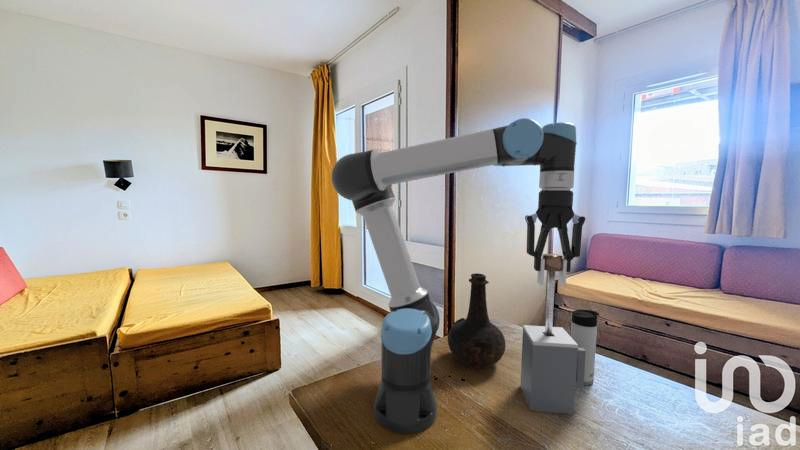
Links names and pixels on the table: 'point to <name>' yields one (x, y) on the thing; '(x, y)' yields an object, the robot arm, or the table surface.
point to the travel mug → (585, 339)
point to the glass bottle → (476, 331)
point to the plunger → (551, 287)
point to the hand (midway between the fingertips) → (551, 284)
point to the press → (551, 369)
